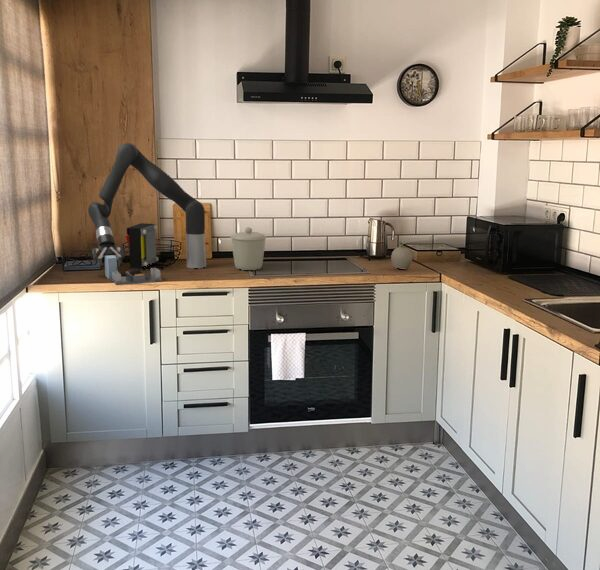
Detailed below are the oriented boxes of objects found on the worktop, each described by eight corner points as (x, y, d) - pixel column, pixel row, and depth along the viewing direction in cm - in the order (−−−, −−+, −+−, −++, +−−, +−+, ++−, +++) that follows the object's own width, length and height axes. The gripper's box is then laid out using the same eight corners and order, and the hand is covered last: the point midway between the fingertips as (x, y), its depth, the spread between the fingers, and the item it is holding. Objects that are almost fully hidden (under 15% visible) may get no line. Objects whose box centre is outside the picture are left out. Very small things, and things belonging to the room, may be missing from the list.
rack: (110, 279, 323) (110, 270, 322) (155, 276, 333) (155, 266, 332) (116, 285, 313) (115, 275, 312) (162, 281, 322) (162, 271, 321)
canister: (231, 265, 360) (230, 224, 356) (266, 265, 362) (266, 224, 357) (229, 272, 343) (229, 229, 338) (266, 272, 344) (266, 230, 339)
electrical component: (145, 268, 349) (144, 228, 345) (126, 267, 351) (125, 227, 347) (159, 262, 366) (158, 224, 362) (141, 261, 368) (140, 223, 363)
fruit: (405, 266, 365) (407, 238, 361) (414, 271, 354) (416, 241, 350) (386, 267, 362) (388, 238, 359) (395, 271, 351) (396, 242, 348)
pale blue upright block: (105, 276, 331) (104, 255, 329) (113, 275, 333) (113, 254, 330) (108, 279, 324) (107, 258, 322) (117, 278, 326) (116, 257, 323)
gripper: (90, 234, 328) (96, 262, 320) (121, 232, 334) (127, 260, 326) (89, 243, 333) (94, 271, 326) (119, 241, 340) (125, 269, 332)
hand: (111, 266), depth 326 cm, fingers open, 8 cm apart
